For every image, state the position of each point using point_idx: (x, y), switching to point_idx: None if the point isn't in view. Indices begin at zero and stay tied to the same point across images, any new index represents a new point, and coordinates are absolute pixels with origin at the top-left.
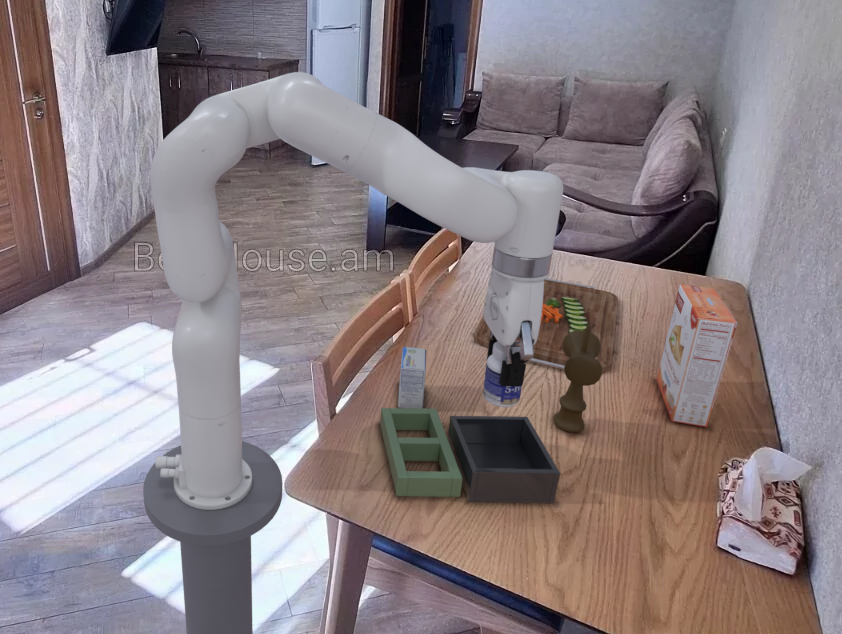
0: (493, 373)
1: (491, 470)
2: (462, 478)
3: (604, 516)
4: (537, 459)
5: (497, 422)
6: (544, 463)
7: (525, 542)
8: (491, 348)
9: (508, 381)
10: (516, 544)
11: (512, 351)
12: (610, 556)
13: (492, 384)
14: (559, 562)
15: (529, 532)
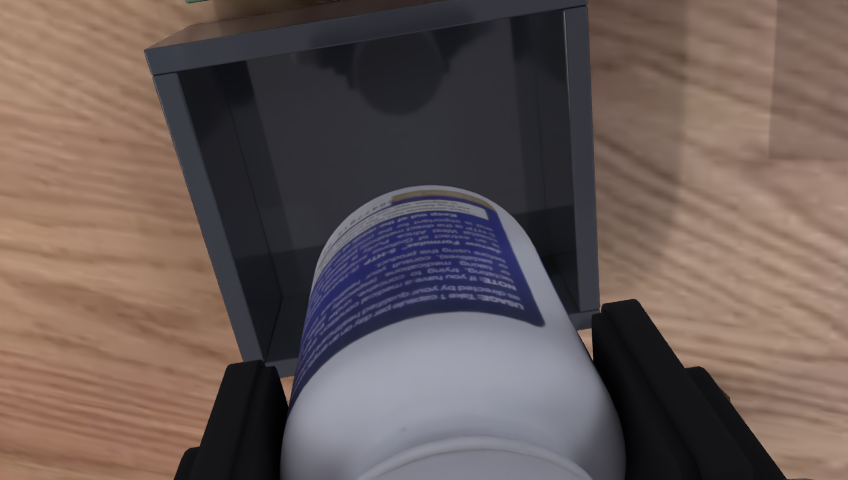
0: (325, 346)
1: (181, 136)
2: (187, 2)
3: None
4: None
5: (569, 203)
6: None
7: (54, 197)
8: (651, 421)
9: (184, 453)
10: (33, 167)
11: None
12: (93, 404)
13: (334, 289)
14: (8, 278)
15: (107, 216)
